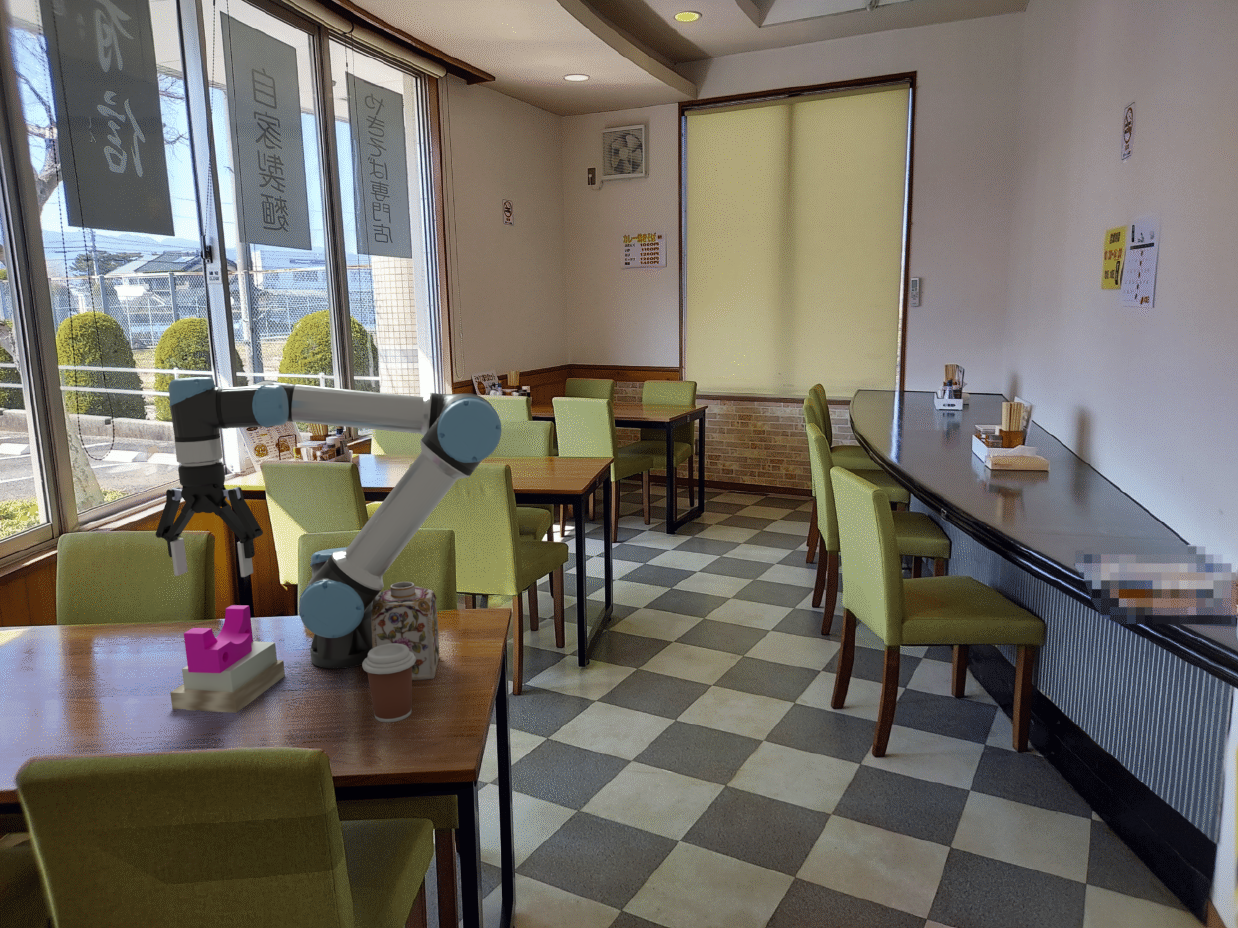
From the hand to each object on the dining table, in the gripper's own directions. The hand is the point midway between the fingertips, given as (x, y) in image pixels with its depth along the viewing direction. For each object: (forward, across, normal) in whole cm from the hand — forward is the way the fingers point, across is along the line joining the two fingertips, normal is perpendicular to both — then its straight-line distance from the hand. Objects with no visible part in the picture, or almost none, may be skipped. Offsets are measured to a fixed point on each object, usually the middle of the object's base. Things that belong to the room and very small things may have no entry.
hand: (214, 574), depth 157 cm
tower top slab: (+20, -1, -1) cm, 20 cm away
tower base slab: (+24, 0, 0) cm, 24 cm away
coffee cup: (+24, -36, +5) cm, 43 cm away
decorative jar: (+24, -31, -14) cm, 41 cm away
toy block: (+16, -1, 0) cm, 17 cm away
